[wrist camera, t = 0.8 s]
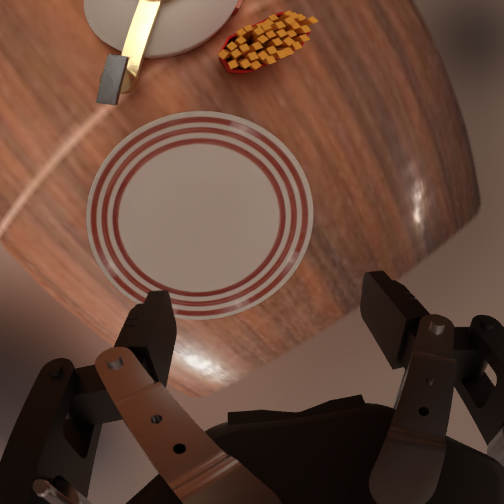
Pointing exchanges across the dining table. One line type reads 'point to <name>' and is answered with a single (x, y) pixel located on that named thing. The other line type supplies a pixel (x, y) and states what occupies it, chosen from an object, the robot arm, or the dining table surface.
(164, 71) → the dining table surface
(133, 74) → the crank
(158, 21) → the crank housing
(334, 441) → the robot arm
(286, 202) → the dinner plate
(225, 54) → the french fries
